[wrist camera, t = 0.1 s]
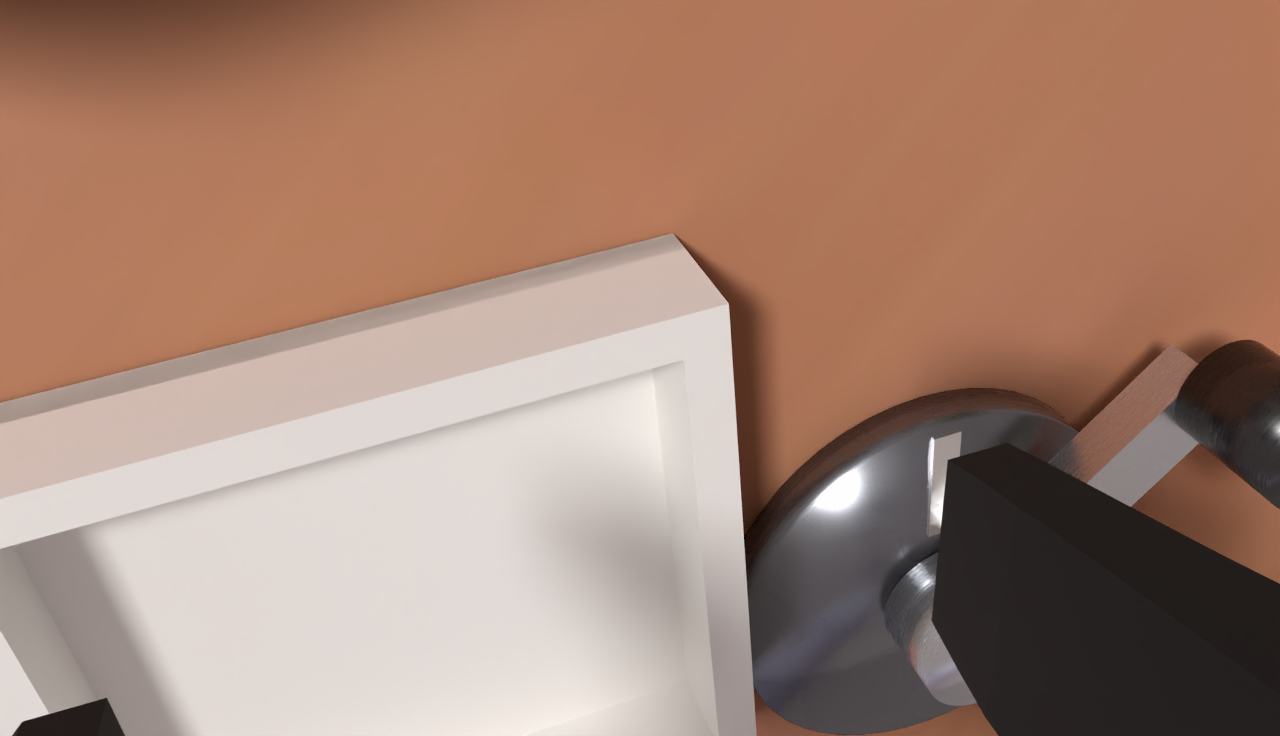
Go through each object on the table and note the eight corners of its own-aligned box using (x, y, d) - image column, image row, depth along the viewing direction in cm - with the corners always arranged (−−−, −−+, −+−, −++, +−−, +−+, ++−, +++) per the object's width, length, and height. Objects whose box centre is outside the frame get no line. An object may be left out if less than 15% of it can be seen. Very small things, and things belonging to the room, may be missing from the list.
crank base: (1065, 633, 30) (1092, 664, 29) (736, 749, 28) (755, 786, 27) (1110, 340, 25) (1145, 368, 24) (713, 458, 23) (735, 492, 22)
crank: (931, 660, 27) (1020, 784, 24) (860, 619, 25) (946, 747, 22) (1256, 354, 25) (1393, 451, 22) (1200, 288, 23) (1341, 383, 20)
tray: (713, 673, 27) (758, 761, 25) (151, 862, 24) (151, 977, 22) (673, 232, 20) (728, 303, 18) (-99, 428, 18) (-132, 533, 16)
